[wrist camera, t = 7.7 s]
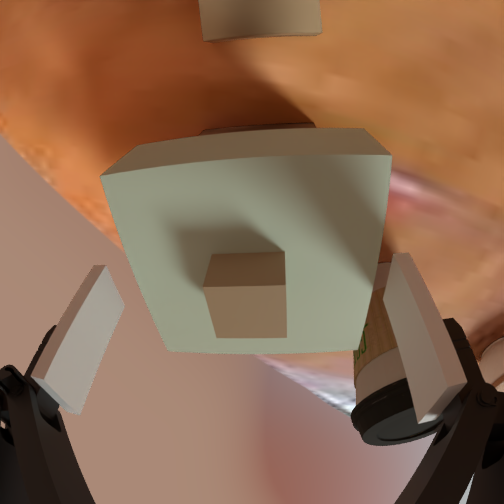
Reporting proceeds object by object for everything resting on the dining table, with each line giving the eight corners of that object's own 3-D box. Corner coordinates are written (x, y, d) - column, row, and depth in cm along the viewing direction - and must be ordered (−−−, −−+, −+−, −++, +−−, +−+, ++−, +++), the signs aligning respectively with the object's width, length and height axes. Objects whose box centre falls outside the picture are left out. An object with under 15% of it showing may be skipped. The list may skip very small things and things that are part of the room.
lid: (363, 128, 13) (413, 177, 8) (347, 300, 19) (362, 379, 14) (137, 145, 14) (73, 199, 9) (182, 304, 21) (160, 378, 16)
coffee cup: (316, 306, 31) (326, 447, 19) (366, 232, 25) (419, 387, 13) (389, 327, 32) (416, 446, 20) (441, 265, 27) (501, 391, 15)
